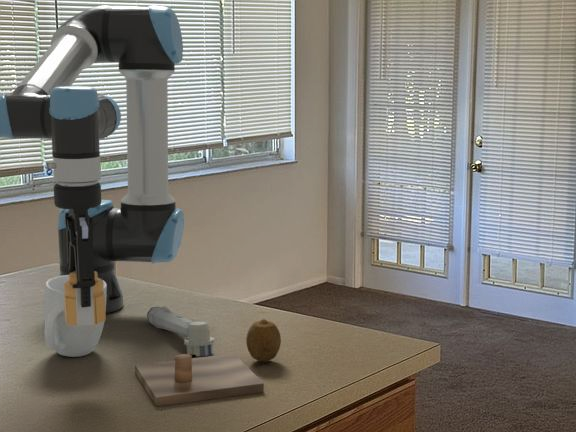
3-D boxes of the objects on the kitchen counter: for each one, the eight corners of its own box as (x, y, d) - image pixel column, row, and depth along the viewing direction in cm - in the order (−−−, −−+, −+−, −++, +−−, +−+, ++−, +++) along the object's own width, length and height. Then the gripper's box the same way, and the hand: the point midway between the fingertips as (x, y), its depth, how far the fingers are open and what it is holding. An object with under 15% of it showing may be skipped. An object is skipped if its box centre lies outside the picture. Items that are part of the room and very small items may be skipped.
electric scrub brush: (166, 303, 185) (217, 318, 164) (168, 335, 186) (219, 353, 164) (143, 307, 183) (191, 321, 161) (145, 339, 183) (193, 358, 161)
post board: (135, 373, 155) (134, 342, 154) (233, 361, 161) (233, 332, 160) (156, 406, 140) (155, 373, 139) (263, 392, 147) (263, 360, 146)
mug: (74, 374, 155) (77, 303, 152) (19, 362, 158) (21, 292, 155) (114, 345, 169) (117, 280, 166) (62, 335, 172) (65, 270, 169)
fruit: (253, 369, 157) (253, 326, 156) (241, 358, 163) (241, 316, 162) (286, 365, 160) (286, 322, 158) (272, 354, 165) (273, 313, 164)
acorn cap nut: (63, 316, 151) (60, 270, 150) (101, 312, 153) (99, 267, 152) (68, 327, 145) (66, 280, 144) (107, 323, 148) (105, 276, 146)
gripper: (46, 175, 152) (52, 304, 157) (61, 192, 135) (67, 338, 139) (90, 173, 155) (95, 300, 159) (111, 190, 137) (115, 333, 142)
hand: (82, 318), depth 149 cm, fingers closed on acorn cap nut, 6 cm apart
